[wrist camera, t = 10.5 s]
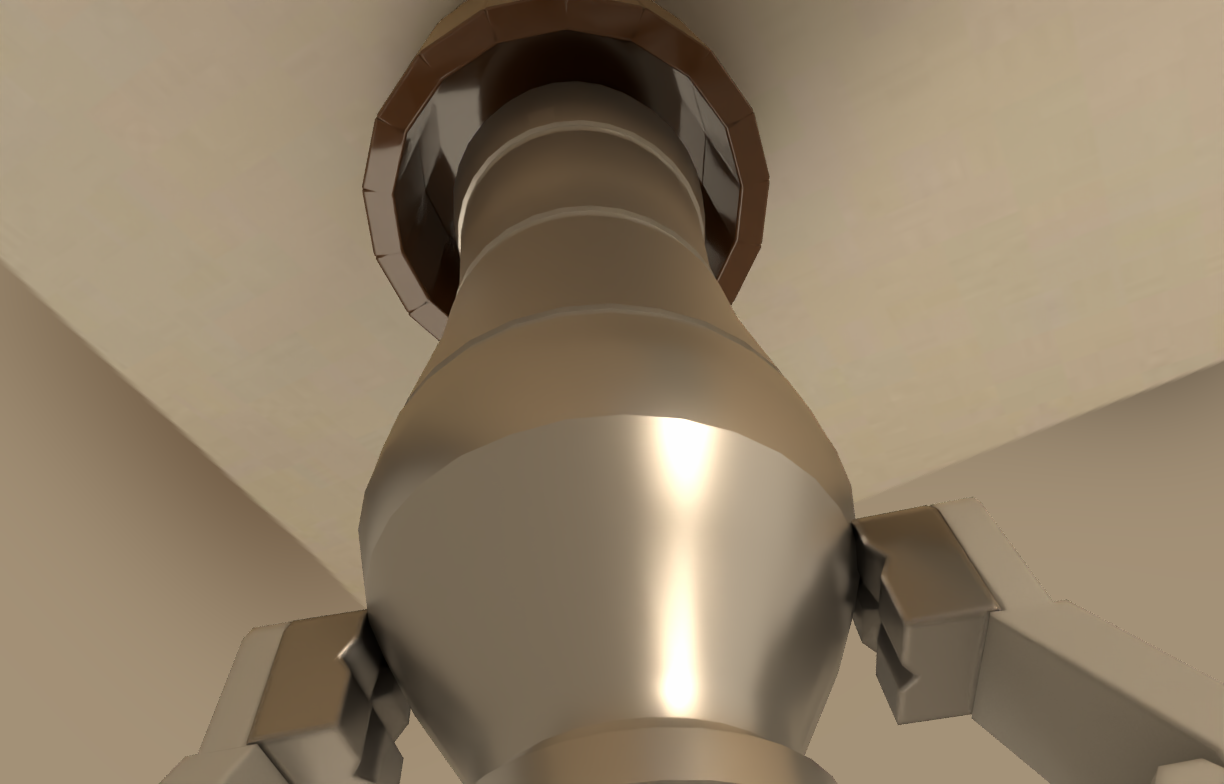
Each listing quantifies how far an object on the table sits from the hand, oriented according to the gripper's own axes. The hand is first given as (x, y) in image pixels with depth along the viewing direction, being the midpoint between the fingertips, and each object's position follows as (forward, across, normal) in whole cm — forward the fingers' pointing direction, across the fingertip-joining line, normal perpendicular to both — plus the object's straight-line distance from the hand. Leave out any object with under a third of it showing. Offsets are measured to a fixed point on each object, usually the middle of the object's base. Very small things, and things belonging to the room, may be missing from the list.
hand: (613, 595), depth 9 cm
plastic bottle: (+15, 0, 0) cm, 15 cm away
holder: (+18, 0, 0) cm, 18 cm away
